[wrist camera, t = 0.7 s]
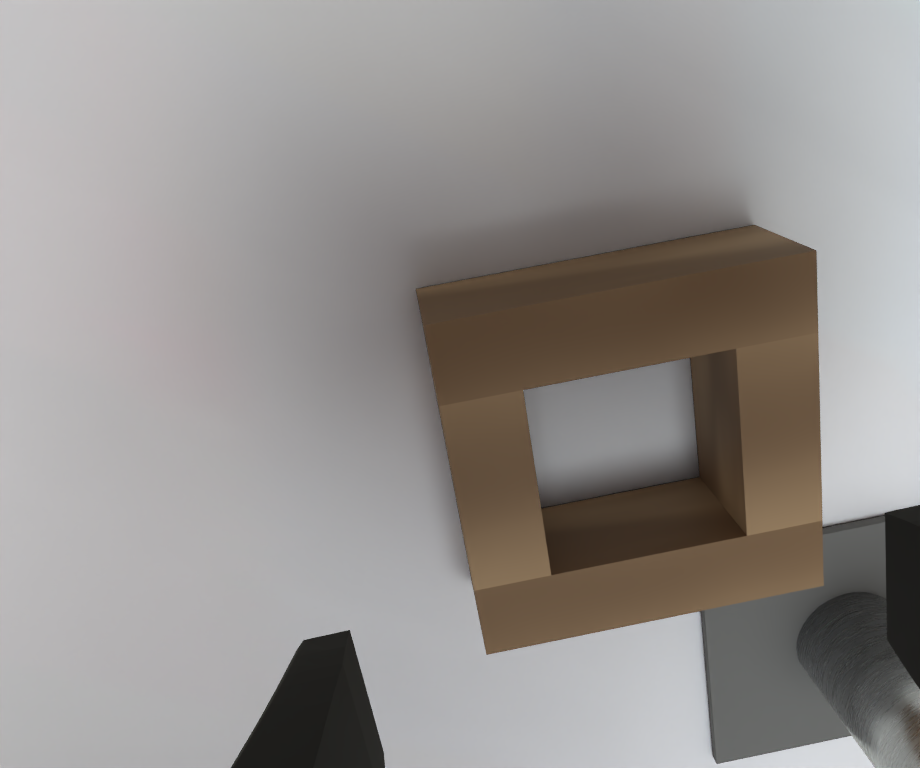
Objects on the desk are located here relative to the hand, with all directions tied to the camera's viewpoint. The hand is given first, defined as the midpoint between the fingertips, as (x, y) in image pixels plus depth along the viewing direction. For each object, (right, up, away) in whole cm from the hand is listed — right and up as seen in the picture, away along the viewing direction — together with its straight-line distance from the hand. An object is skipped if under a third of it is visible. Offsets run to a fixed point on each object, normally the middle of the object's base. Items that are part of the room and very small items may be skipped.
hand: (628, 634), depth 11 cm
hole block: (+1, +3, +10) cm, 11 cm away
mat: (+9, -4, +13) cm, 16 cm away
